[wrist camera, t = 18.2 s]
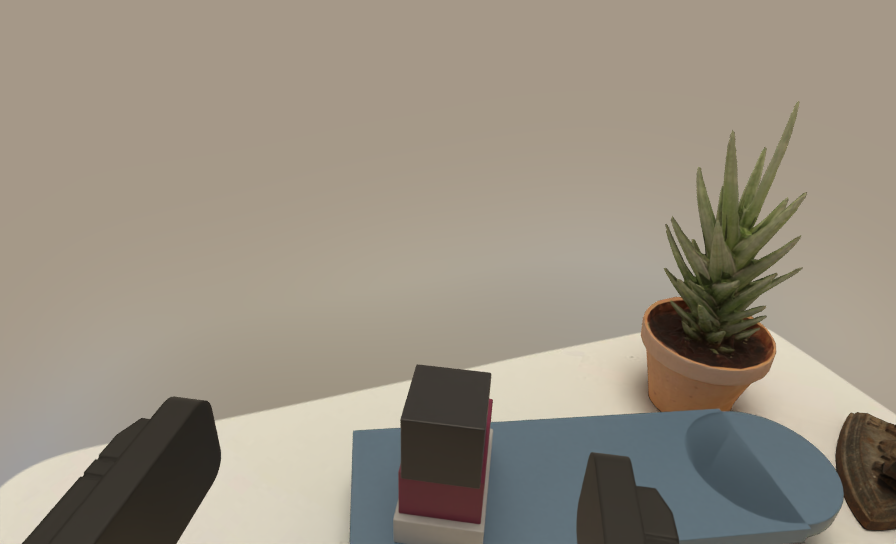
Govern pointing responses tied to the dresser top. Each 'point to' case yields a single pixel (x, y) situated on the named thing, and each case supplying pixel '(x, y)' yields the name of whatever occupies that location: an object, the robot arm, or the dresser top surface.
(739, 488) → the ironing board
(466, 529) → the stacked block tower
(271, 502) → the dresser top surface
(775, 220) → the potted plant
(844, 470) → the clothes iron
